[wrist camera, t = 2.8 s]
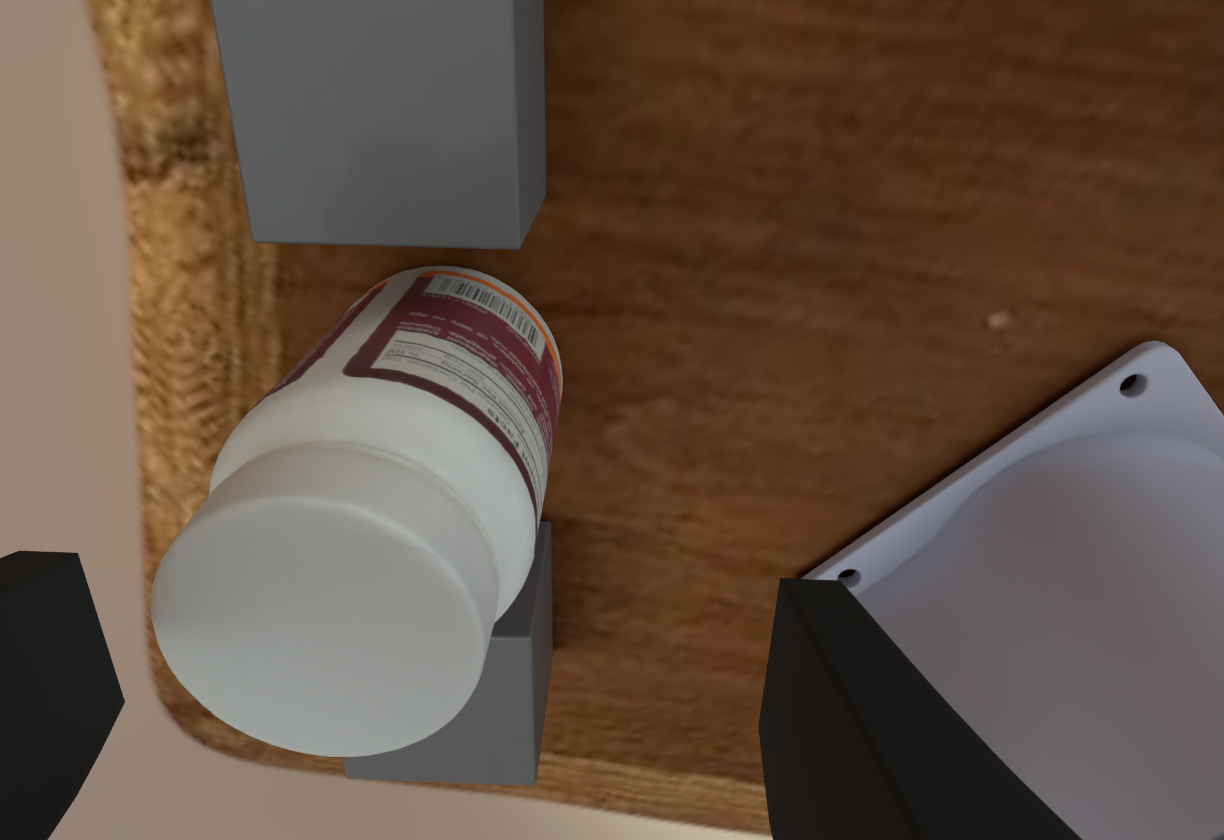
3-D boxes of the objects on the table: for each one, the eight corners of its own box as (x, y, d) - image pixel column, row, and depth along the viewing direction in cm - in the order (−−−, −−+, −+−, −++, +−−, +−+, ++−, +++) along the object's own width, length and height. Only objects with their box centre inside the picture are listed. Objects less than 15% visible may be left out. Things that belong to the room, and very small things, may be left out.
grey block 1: (547, 197, 16) (520, 251, 12) (338, 191, 16) (250, 243, 12) (543, -43, 14) (511, -64, 10) (309, -48, 14) (196, -70, 10)
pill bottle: (394, 490, 19) (231, 810, 11) (303, 295, 17) (30, 524, 9) (594, 441, 18) (565, 747, 10) (525, 232, 16) (427, 423, 8)
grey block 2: (553, 653, 21) (535, 787, 17) (395, 648, 21) (344, 780, 17) (551, 520, 19) (531, 637, 15) (378, 514, 19) (318, 630, 15)
